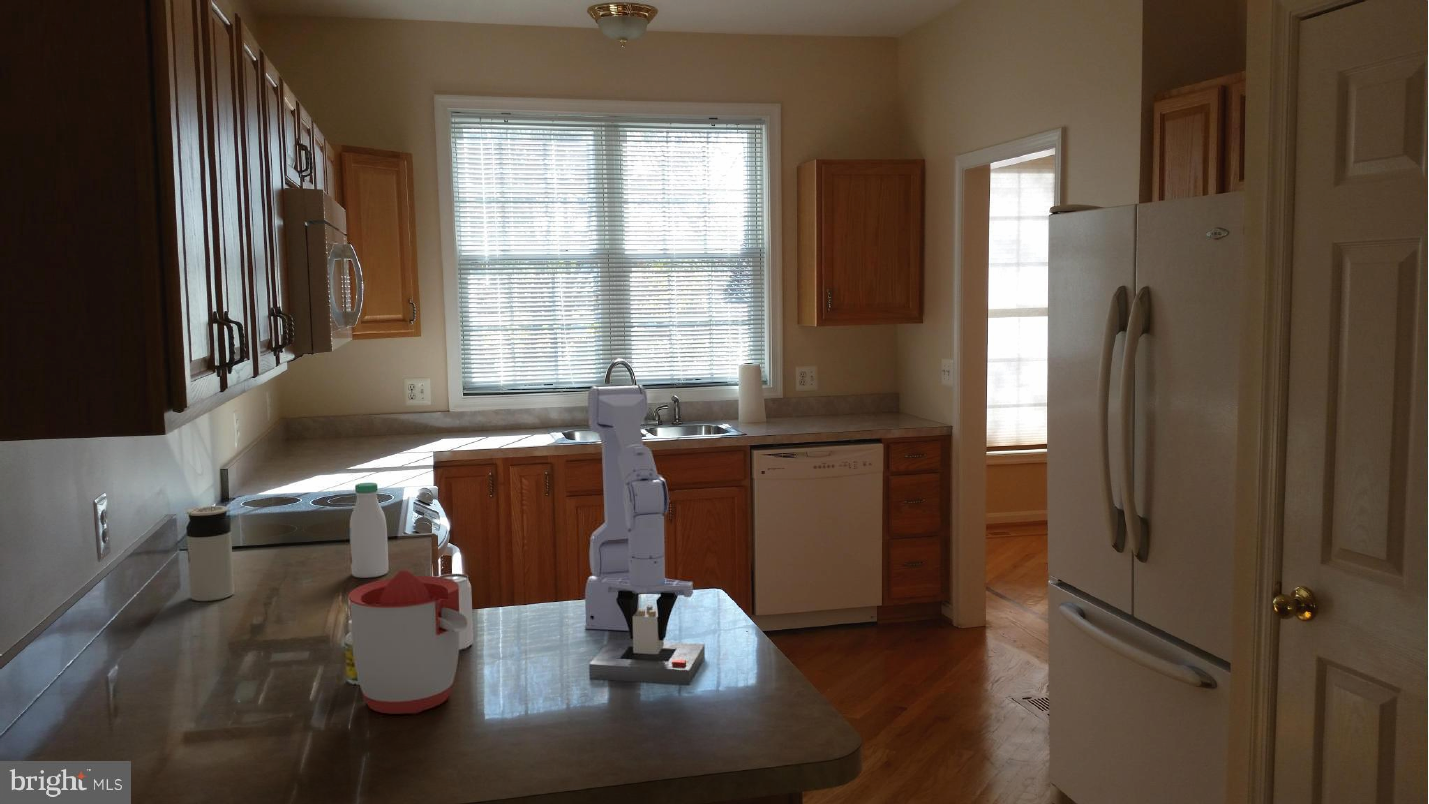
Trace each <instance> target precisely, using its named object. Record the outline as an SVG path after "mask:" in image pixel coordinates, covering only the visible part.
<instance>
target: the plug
mask: <svg viewBox="0 0 1429 804" xmlns="http://www.w3.org/2000/svg"><path fill="white" fill-rule="evenodd" d="M632 640H633V653H645V654H658V653H659V652H660V650H661V649H662V648H663V646H664V642H665V639H664V640H663V641H661V640H659V638H658V610H657V608H656V609H655V608H654V609H653V605H650V604H649V605H647V606H646V608H639V610H638V611H637V612H636V613H635V614H634V615H633V639H632Z"/></svg>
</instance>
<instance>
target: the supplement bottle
mask: <svg viewBox="0 0 1429 804" xmlns="http://www.w3.org/2000/svg"><path fill="white" fill-rule="evenodd" d="M348 631H349V632H348V634H346V636H345V638H344V647H345V648H344V649H345V666H346V681H347V682H348V683H349V684H352V685H354V684H356V686H360V684H359V681H358V678H357V674H356V669H355V664H354V656H353V640H352V618H351V619H350V620H349V621H348Z"/></svg>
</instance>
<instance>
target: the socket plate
mask: <svg viewBox="0 0 1429 804" xmlns="http://www.w3.org/2000/svg"><path fill="white" fill-rule="evenodd" d="M705 645H706V644H704V643H690V642H689V643H688V642H686V643H685V642H684V643H683V642H671V641H664V646H663V648H662V649H661V650H660V652H659V653H658V654H645V653H633V639H619V638H618V639H617V638H616V639H615V638H614V639H613V638H610V640H609V641H608V642H607V644H605V645H604V646H603V648H602V649H601V650H600V651H599V652H598V653H597V655H596V656H595V657H594V658H593V659H592V660H591V661H590V662H589V664H588V670H589V673H588V674H589V680H599V679H602V680H601V681H617V682H632V683H633V682H634V683H647V684H649V683H650V684H663V685H664V684H665V685H679V686H689V685H691V683H692V681H693V679H694V677H695V676H696V674H697V672H698V671H699V669H700V667H701V666H702V664H703V662H704V660H705V659H706V656H705V655H706V653H705V651H706V650H705V649H706V647H705Z"/></svg>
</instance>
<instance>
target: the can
mask: <svg viewBox="0 0 1429 804" xmlns="http://www.w3.org/2000/svg"><path fill="white" fill-rule="evenodd" d="M437 577H442V578H447V579H450V580H453V581H455V582H456V583H457V584H458V585H459V613H461V614H463V615H464V616H465V617H466V618H467V623H468V624H467V627H466V628H465V629H464V630H462V631H460V632H459V650H460V651H463V650H462V649H464V650H466V649H468V648H470V647H471V646H472V644H473V642H474V640H473V639H474V636H473V634H474V631H473V629H474V628H473V627H474V626H473V604H472V601H473V600H472V585H471V583H470V581H469V576H468V574H464V573H447V574H442V575H438V576H437ZM470 645H471V646H470ZM469 646H470V647H469ZM467 647H468V648H467Z"/></svg>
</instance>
